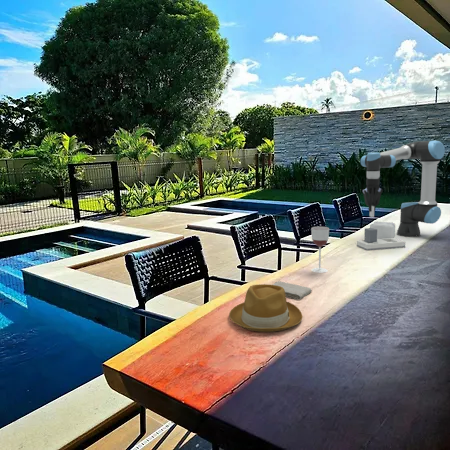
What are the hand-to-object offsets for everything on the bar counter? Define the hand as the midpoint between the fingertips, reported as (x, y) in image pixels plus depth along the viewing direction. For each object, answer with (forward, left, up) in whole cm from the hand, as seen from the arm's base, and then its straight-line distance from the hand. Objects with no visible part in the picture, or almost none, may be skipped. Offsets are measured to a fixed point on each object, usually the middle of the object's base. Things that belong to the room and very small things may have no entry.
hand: (371, 216), depth 246 cm
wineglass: (+51, +37, -20) cm, 66 cm away
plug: (0, 0, -19) cm, 19 cm away
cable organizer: (-18, -16, -20) cm, 31 cm away
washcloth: (+77, +63, -20) cm, 102 cm away
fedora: (+95, +87, -20) cm, 130 cm away
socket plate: (-6, +1, -20) cm, 20 cm away
